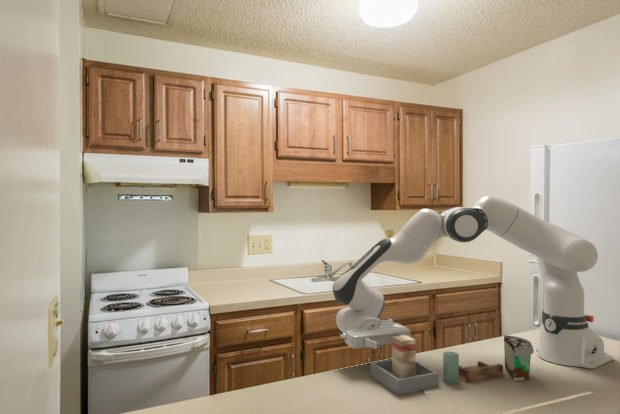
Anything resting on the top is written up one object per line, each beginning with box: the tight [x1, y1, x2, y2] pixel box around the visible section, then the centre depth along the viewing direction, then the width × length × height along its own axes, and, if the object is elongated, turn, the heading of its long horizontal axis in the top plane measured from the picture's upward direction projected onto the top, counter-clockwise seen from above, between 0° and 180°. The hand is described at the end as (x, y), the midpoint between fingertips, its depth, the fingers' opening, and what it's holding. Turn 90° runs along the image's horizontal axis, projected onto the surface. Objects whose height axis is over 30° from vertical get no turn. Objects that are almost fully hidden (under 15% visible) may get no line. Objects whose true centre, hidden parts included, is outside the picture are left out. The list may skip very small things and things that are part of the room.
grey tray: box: [370, 358, 440, 397], centre depth 116 cm, size 13×14×4 cm
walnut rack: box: [459, 360, 507, 384], centre depth 120 cm, size 14×9×4 cm, turn 112°
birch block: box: [391, 335, 417, 379], centre depth 116 cm, size 5×5×11 cm
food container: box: [503, 335, 535, 383], centre depth 119 cm, size 12×6×10 cm, turn 168°
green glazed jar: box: [442, 351, 460, 386], centre depth 115 cm, size 4×4×8 cm
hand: (392, 344), depth 121 cm, fingers open, 8 cm apart
